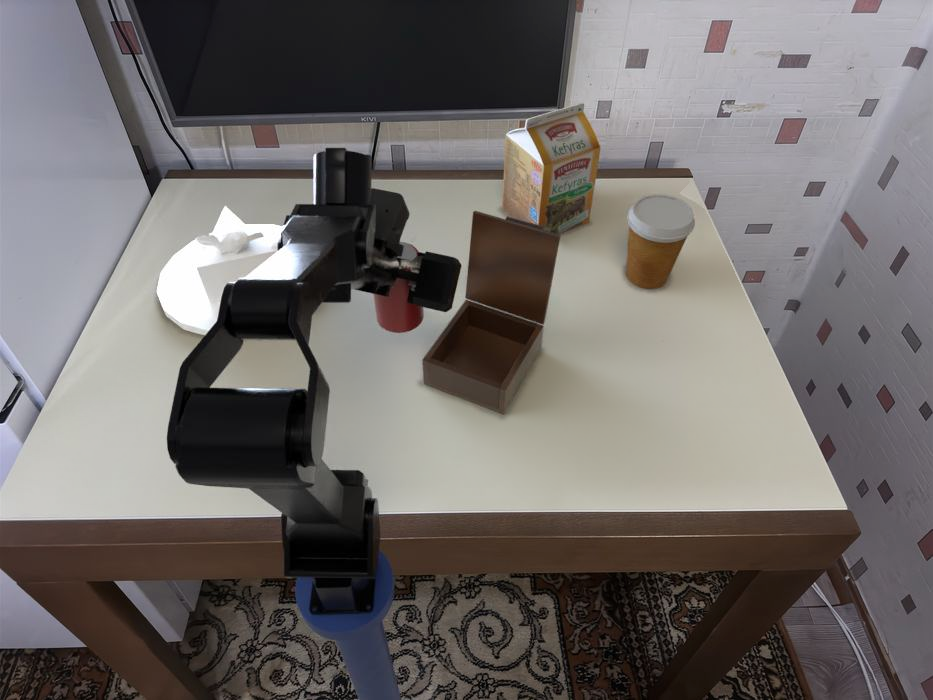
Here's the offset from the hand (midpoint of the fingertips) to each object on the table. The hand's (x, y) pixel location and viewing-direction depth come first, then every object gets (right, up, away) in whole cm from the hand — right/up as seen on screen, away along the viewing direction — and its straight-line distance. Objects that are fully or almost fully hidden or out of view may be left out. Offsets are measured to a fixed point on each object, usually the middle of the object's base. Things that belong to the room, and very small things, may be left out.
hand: (401, 276), depth 86 cm
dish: (-26, +1, +18) cm, 32 cm away
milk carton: (+22, +13, +29) cm, 39 cm away
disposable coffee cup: (+36, +2, +19) cm, 41 cm away
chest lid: (+14, +1, +2) cm, 14 cm away
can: (0, -5, +3) cm, 6 cm away
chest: (+11, -12, +6) cm, 17 cm away
